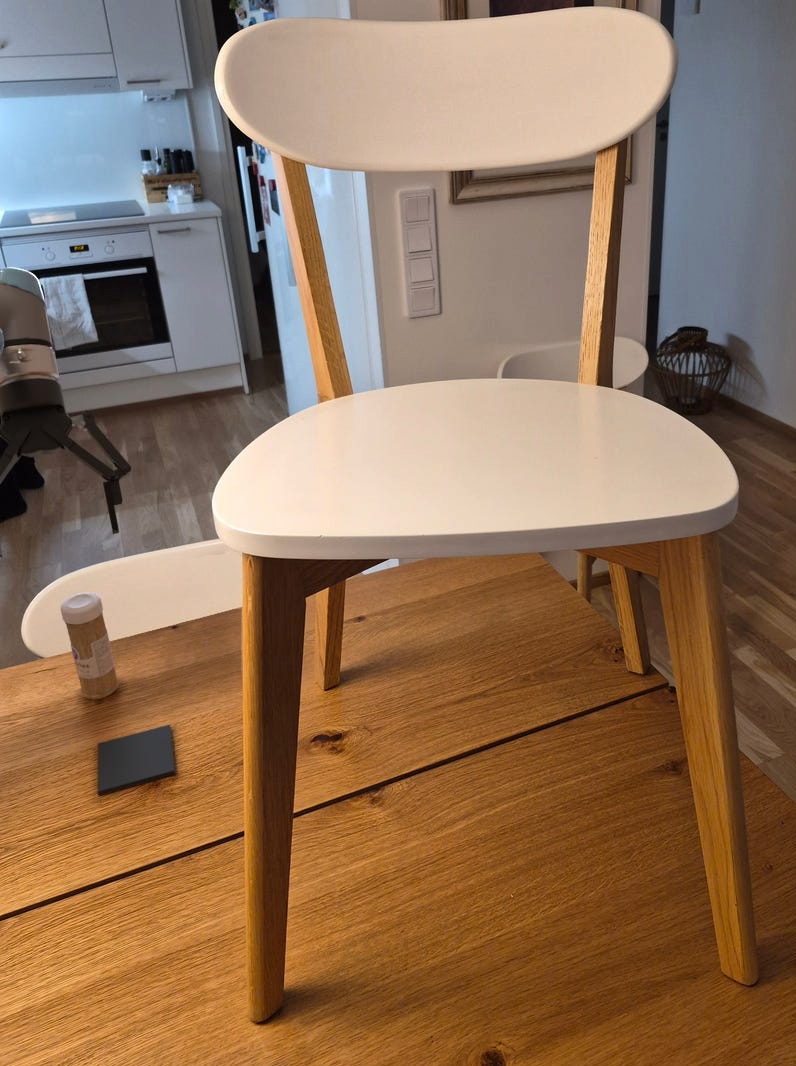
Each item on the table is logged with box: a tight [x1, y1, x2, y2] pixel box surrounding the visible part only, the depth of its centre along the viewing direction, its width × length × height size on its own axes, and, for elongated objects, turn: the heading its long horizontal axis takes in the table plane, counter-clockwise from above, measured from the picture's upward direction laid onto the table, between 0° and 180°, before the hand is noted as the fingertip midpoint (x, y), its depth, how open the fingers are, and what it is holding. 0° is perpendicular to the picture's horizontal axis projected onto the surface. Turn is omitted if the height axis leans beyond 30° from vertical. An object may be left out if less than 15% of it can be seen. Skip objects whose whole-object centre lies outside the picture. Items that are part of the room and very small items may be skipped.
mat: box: [97, 724, 176, 796], centre depth 97 cm, size 8×8×1 cm
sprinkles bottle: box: [59, 591, 120, 700], centre depth 106 cm, size 5×5×13 cm
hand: (58, 543), depth 108 cm, fingers open, 13 cm apart
